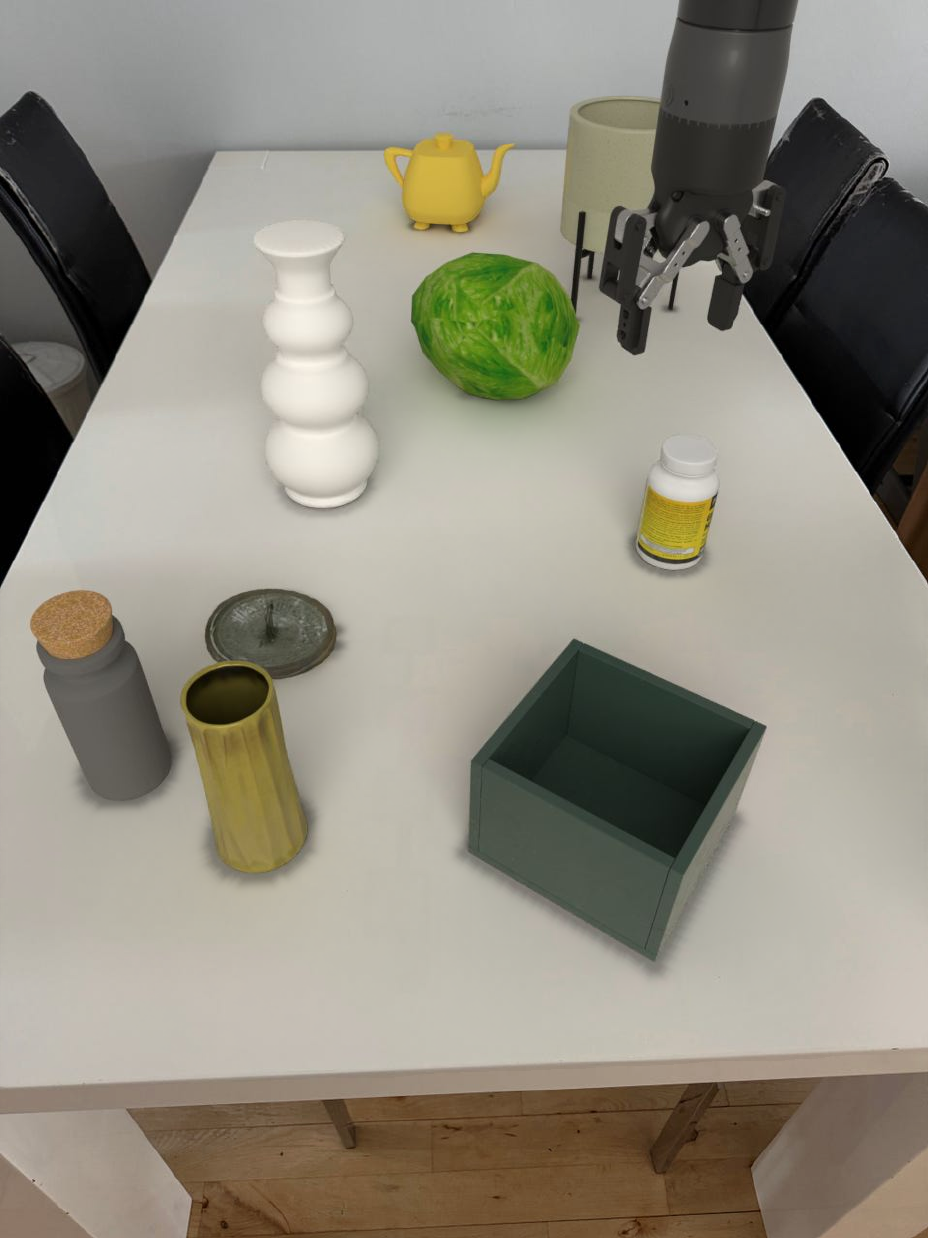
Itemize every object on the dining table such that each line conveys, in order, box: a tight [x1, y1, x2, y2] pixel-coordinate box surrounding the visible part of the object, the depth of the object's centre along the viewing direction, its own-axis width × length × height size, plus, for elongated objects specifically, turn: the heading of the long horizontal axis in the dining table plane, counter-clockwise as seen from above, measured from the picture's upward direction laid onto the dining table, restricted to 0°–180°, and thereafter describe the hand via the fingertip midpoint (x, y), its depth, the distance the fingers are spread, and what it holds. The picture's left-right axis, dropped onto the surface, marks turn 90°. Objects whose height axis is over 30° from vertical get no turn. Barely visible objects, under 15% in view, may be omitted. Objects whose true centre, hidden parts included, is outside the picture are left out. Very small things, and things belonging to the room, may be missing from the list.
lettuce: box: [410, 251, 581, 401], centre depth 101 cm, size 17×20×17 cm
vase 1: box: [179, 661, 308, 874], centre depth 56 cm, size 6×6×14 cm
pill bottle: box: [635, 433, 721, 571], centre depth 80 cm, size 6×6×11 cm
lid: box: [204, 588, 338, 681], centre depth 73 cm, size 11×10×5 cm
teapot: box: [383, 132, 516, 233], centre depth 139 cm, size 13×20×12 cm
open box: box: [467, 638, 768, 963], centre depth 58 cm, size 14×13×10 cm
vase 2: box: [252, 219, 380, 509], centre depth 82 cm, size 11×11×25 cm
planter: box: [559, 95, 681, 315], centre depth 115 cm, size 15×16×23 cm
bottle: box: [29, 589, 172, 801], centre depth 60 cm, size 6×6×15 cm
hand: (676, 338), depth 70 cm, fingers open, 8 cm apart
